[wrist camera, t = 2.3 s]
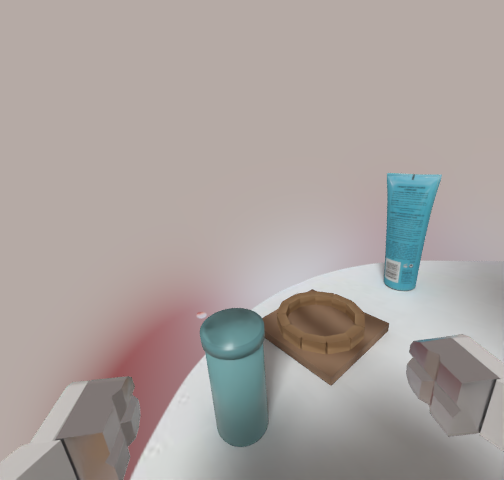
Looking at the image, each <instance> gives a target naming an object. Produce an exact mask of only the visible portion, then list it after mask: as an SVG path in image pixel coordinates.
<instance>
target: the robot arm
mask: <svg viewBox="0 0 504 480" xmlns="http://www.w3.org/2000/svg"><path fill="white" fill-rule="evenodd" d="M409 352H410V354H411V355H412V357H413V358H412V359H411V360H410V361H409V363H408V364H407V371H406V374H407V378H408V382H409V385H410V387H411V389H412V390H413V392H414V393H415V395H416V396H417V397H418V399H420V400H422V401H423V402H425V403H427V404H428V405H429V408H430V414H431V415H432V417H433V418H434V419H435V420H436V422H437V423H438V424H439V426H440V427H441V428H442V429H443V431H444V432H445V433H446V434H447V436H448V437H451V436H459V435H468V434H476V433H480V436H482V437H483V438H485V439H486V440H488V441H489V442H490V443H492V444H493V445H495V446H496V447H498V448H499V449H501V450H502V451H503V452H504V363H503V362H501V361H500V360H499V359H498V358H496V357H495V356H494V355H492V354H491V353H490V352H488V351H487V350H486V349H484V348H483V347H482V346H481V345H479V344H478V343H477V342H475V341H474V340H473V339H471V338H470V337H468V336H466V335H463V334H461V335H454V336H447V337H441V338H433V339H426V340H418V341H413V343H412V344H411V345H410V350H409ZM134 387H135V386H134V383H133V380H132V377H129V376H128V377H117V378H107V379H97V380H91V381H80V382H72V383H71V384H69V385H68V386H67V387H66V388H65V390H64V392H63V393H62V395H61V396H60V397H59V399H58V400H57V402H56V404H55V405H54V407H53V408H52V410H51V411H50V413H49V414H48V416H47V417H46V419H45V420H44V422H43V423H42V425H41V426H40V428H39V430H38V431H37V433H36V434H35V436H34V437H33V439H32V440H31V442H30V443H29V444H26V445H22V446H20V447H19V448H18V449H17V450H15V451H14V452H13V453H11V454H10V455H9V456H8V457H6V458H5V459H4V460H3V461H1V462H0V480H123V478H124V475H125V472H126V468H127V465H128V462H129V459H130V454H129V450H128V446H129V445H130V444H131V443H132V442H133V441H134V440H135V438H136V435H137V432H138V428H139V421H140V405H139V401H138V399H137V398H136V397H135V396H133V395H132V393H133V390H134Z"/></svg>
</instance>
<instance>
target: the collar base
mask: <svg viewBox="0 0 504 480" xmlns="http://www.w3.org/2000/svg"><path fill="white" fill-rule="evenodd" d="M262 319H263V321H264V331H265V338H266V339H267V340H269V341H270V342H271V343H273V344H274V345H275V346H277V347H278V348H280V349H281V350H282V351H284V352H285V353H287V354H288V355H289V356H291V357H292V358H293V359H295V360H296V361H298V362H299V363H300V364H302V365H303V366H305V367H306V368H307V369H309V370H310V371H311V372H313V373H314V374H316V375H317V376H318V377H320V378H321V379H322V380H324V381H325V382H327V383H328V384H329V385H332V384H333V383H334V382H335V381H337V380H338V379H339V378H340V377H341V376H342V375H343V374H344V373H345V372H346V371H347V370H348V369H349V368H350V367H351V366H352V365H353V364H354V363H355V362H356V361H357V360H358V359H359V358H360V357H361V356H362V355H364V354H365V353H366V352H367V351H368V350H369V349H370V348H371V347H372V346H373V345H374V344H375V343H376V342H377V341H378V340H379V339H380V338H381V337H382V336H383V335H384V334H385V333H386V332H387V331H388V328H389V323H387V322H385V321H382V320H380V319H378V318H376V317H373V316H371V315H369V314H367V313H364V312H363V311H362V310H361V309H360V308H359V307H358V306H357V305H356V304H355V303H354V302H352V301H351V300H349V299H346V298H344V297H342V296H339V295H337V294H335V295H334V293H326V292H317V291H315V290H310V291H308V292H306V293H299V294H297V295H296V294H295V295H293V296H291V297H290V298H288V299H286V300H284V301H283V302H282V303H281V305H280V307H279V309H277V310H276V311H274V312H272V313H270V314H269V315H267V316H265V317H264V318H262Z"/></svg>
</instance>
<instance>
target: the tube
mask: <svg viewBox="0 0 504 480" xmlns="http://www.w3.org/2000/svg"><path fill="white" fill-rule="evenodd" d="M441 176H442V175H417V174H416V175H415V174H398V173H388V174H387V189H388V204H387V205H388V206H387V234H386V235H387V236H386V256H385V274H384V283H385V284H386V285H387V286H388V287H390V288H392V289H396V290H402V291H408V290H412V289H414V288H415V286H416V280H417V275H418V270H419V265H420V260H421V254H422V250H423V245H424V240H425V236H426V231H427V227H428V222H429V218H430V214H431V210H432V207H433V203H434V199H435V196H436V192H437V189H438V186H439V183H440V181H441Z"/></svg>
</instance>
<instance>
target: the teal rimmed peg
mask: <svg viewBox="0 0 504 480" xmlns="http://www.w3.org/2000/svg"><path fill="white" fill-rule="evenodd" d="M200 337H201V343H202V347H203V349H204V351H205V352H206V359H207V365H208V372H209V378H210V384H211V391H212V397H213V404H214V410H215V416H216V423H217V429H218V432H219V434H220V436H221V438H222V439H223V440H224V441H225V442H227V443H228V444H230V445H233V446H237V447H244V446H249V445H251V444H253V443H255V442H257V441H258V440H259V439H260V438H261V437H262V436H263V434H264V433H265V431H266V429H267V425H268V410H267V395H266V380H265V365H264V351H263V341H264V338H265V331H264V321H263V319H262V318H261V316H260V315H258V314H257V313H255V312H254V311H251V310H248V309H243V308H231V309H225V310H222V311H219V312H217V313H214V314H213V315H211V316H210V317H208V318H207V319H206V320H205V321H204V323H203V324H202V326H201V328H200Z"/></svg>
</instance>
